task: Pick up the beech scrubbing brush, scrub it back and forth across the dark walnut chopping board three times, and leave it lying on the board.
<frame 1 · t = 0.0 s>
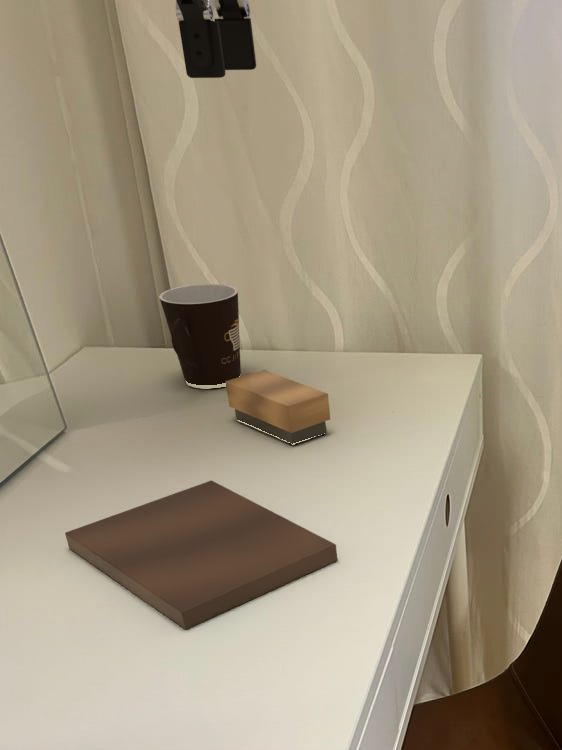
hand: (223, 73, 86), 32 cm above the table, tool pointing down, fingers open, 9 cm apart
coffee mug: (204, 385, 114), on the table
board: (201, 554, 79), on the table
brush: (281, 427, 102), on the table
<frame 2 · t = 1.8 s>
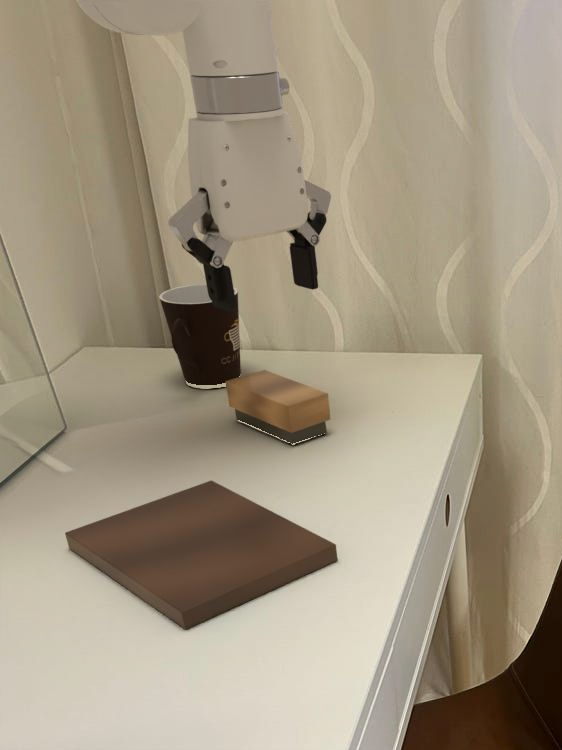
hand: (266, 297, 95), 13 cm above the table, tool pointing down, fingers open, 9 cm apart
nothing on the table moved.
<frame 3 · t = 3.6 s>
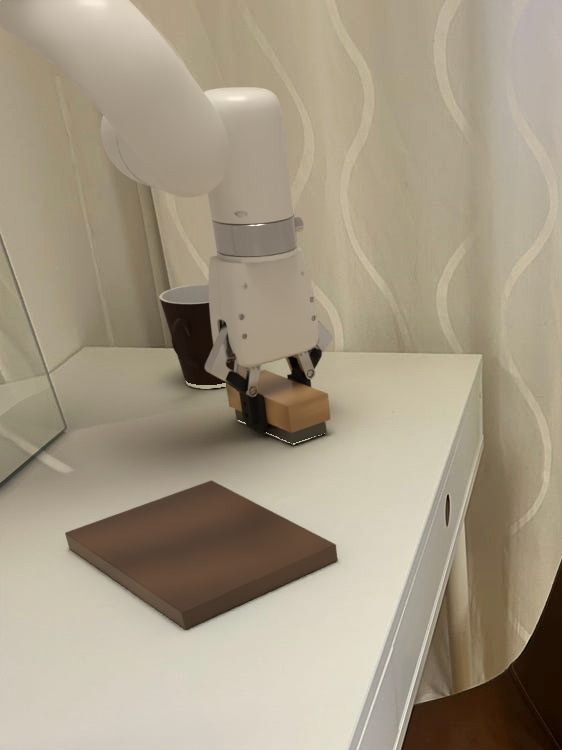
hand: (280, 420, 102), 1 cm above the table, tool pointing down, fingers closed on brush, 5 cm apart
brush: (281, 427, 102), on the table, touching gripper
everything else where it was.
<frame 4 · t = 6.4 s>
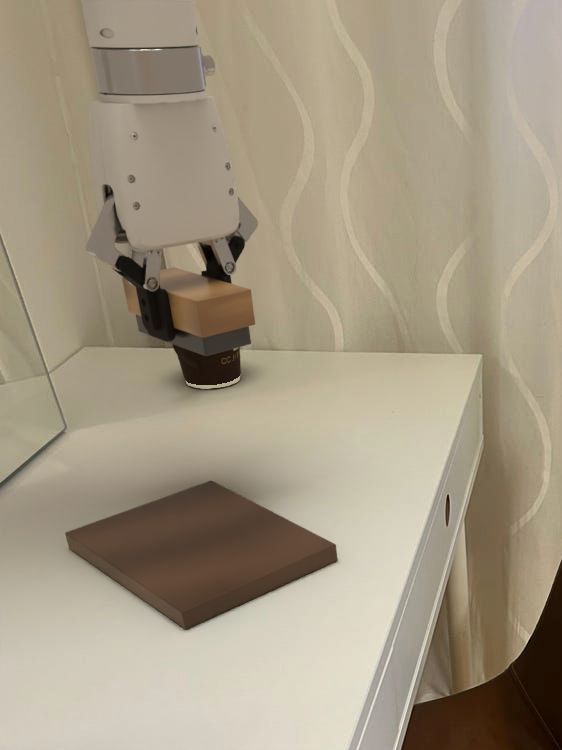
hand: (192, 327, 80), 15 cm above the table, tool pointing down, fingers closed on brush, 5 cm apart
brush: (194, 337, 81), point 14 cm above the table, touching gripper
everything else where it was.
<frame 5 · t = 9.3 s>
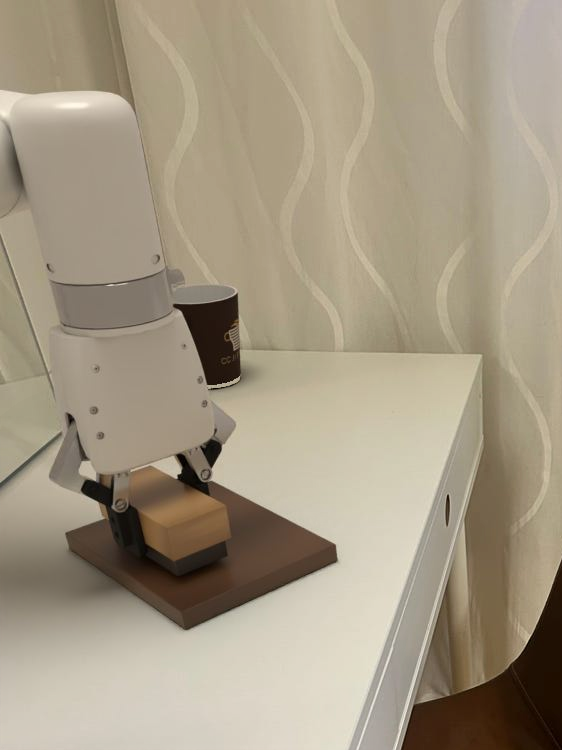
hand: (166, 535, 76), 3 cm above the table, tool pointing down, fingers closed on brush, 5 cm apart
brush: (169, 545, 76), point 2 cm above the table, touching gripper
everything else where it was.
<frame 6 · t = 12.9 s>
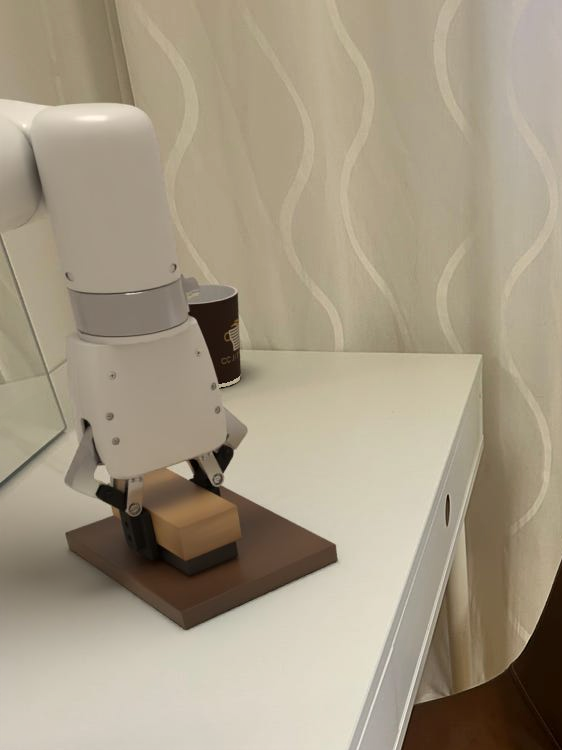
hand: (178, 539, 77), 2 cm above the table, tool pointing down, fingers closed on brush, 5 cm apart
brush: (180, 544, 77), point 2 cm above the table, touching gripper
everything else where it was.
when the fingers open (2 cm above the table, at t = 15.3 s): brush stays where it is, resting on board.
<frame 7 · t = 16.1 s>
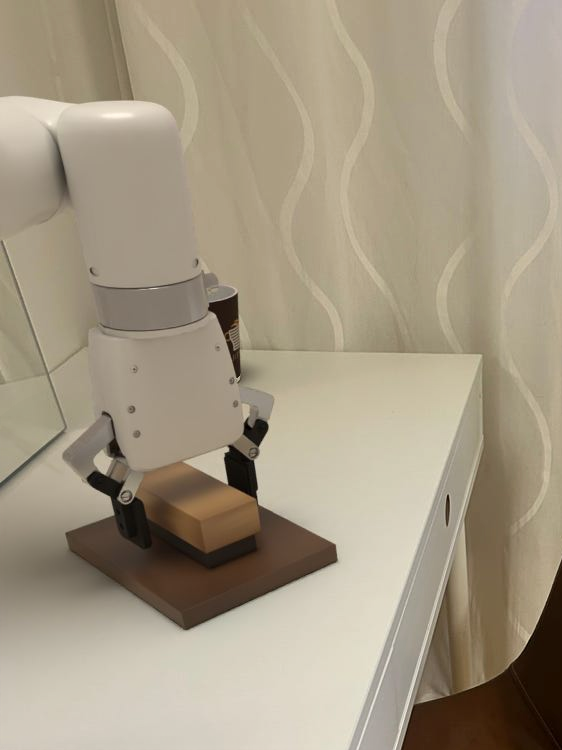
hand: (193, 521, 77), 3 cm above the table, tool pointing down, fingers open, 9 cm apart
brush: (199, 538, 78), point 1 cm above the table, touching board
everything else where it was.
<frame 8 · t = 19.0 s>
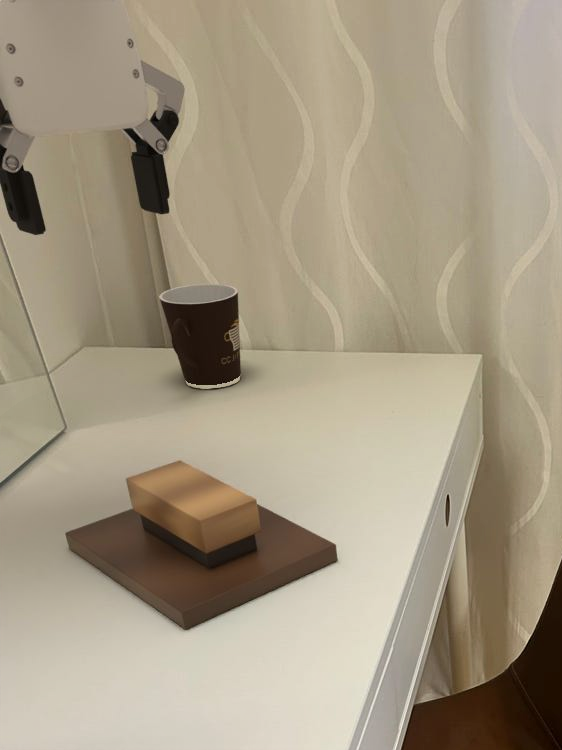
hand: (96, 221, 71), 24 cm above the table, tool pointing down, fingers open, 9 cm apart
nothing on the table moved.
at the end: brush inside the target area on the board (0.1 cm from its centre), point 1.5 cm above the board's base; brush moved 27.7 cm from its start; the gripper is holding nothing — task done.
